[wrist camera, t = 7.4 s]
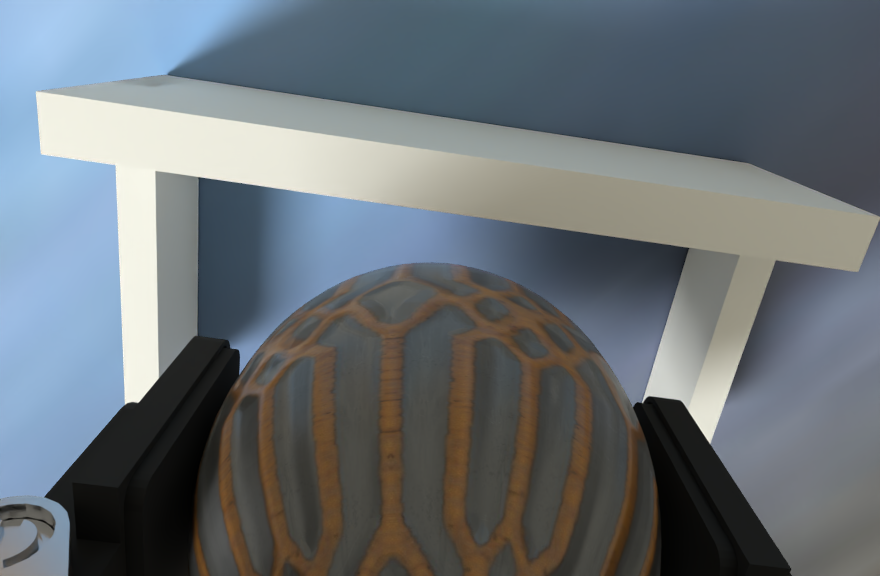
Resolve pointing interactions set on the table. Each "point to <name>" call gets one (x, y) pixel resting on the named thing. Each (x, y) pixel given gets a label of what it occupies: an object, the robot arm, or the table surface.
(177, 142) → the cradle
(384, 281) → the vase
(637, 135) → the table surface
